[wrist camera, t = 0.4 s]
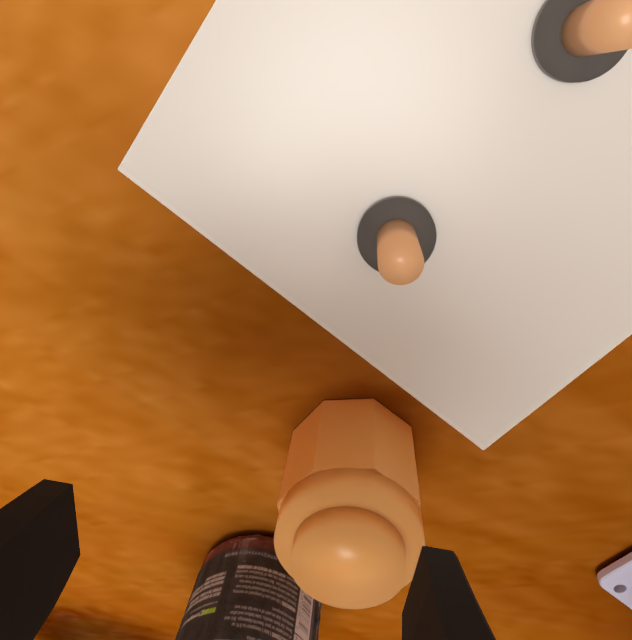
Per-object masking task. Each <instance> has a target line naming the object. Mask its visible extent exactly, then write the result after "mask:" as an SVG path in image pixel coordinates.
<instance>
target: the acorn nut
mask: <svg viewBox="0 0 632 640" xmlns="http://www.w3.org/2000/svg"><path fill="white" fill-rule="evenodd" d="M277 507H278V512H279V514H278V519H277V524H276V528H275V533H274V548H275V552H276V555H277V557H278V560H279V562H280V563H281V565H282V566H283V568H284V569H285V570H286V571H287V573H288V574H289V575H290V576H291V577H293V578H294V580H295V582H296V583H297V585H298V586H299V587H300V588H301V589H302V590H303V591H304V592H305V593H306V594H307V595H309V596H310V597H312V598H313V599H315V600H317V601H319V602H321V603H324V604H326V605H329V606H333V607H337V608H343V609H364V608H370V607H374V606H377V605H380V604H382V603H384V602H386V601H388V600H390V599H391V598H393V597H394V596H395V595H396V594H397V593H398V592H399V591H400V590H401V588H403V587H404V586H406V585H407V584H408V583H410V582H411V581H412V579H413V575H414V572H415V569H416V565H417V562H418V559H419V555H420V552H421V549H422V546H425V538H424V530H423V522H422V515H421V504H420V493H419V485H418V476H417V468H416V460H415V452H414V443H413V435H412V427H411V426H410V425H408V424H407V423H406V422H404V421H403V420H402V419H400V418H399V417H398V416H396V415H395V414H394V413H392V412H391V411H390V410H388V409H387V408H386V407H384V406H383V405H382V404H380V403H379V402H378V401H376V400H375V399H350V400H325V401H323V402H322V403H321V404H320V405H319V406H318V407H317V408H316V409H315V410H314V411H313V412H312V413H311V414H310V415H309V416H308V417H307V418H306V419H305V420H304V421H303V422H302V423H301V424H300V425H299V426H298V427H297V428H296V429H295V430H293V434H292V438H291V443H290V447H289V451H288V456H287V460H286V465H285V469H284V473H283V478H282V482H281V486H280V491H279V495H278V500H277Z"/></svg>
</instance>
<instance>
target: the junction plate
mask: <svg viewBox="0 0 632 640" xmlns="http://www.w3.org/2000/svg"><path fill="white" fill-rule="evenodd" d="M117 170H119V171H120V172H121V173H123V174H124V175H125V176H126V177H128V178H129V179H130V180H132V181H133V182H134V183H136V184H137V185H138V186H140V187H141V188H142V189H143V190H145V191H146V192H147V193H149V194H150V195H151V196H153V197H154V198H155V199H156V200H158V201H159V202H160V203H162V204H163V205H164V206H166V207H167V208H168V209H169V210H171V211H172V212H173V213H175V214H176V215H177V216H179V217H180V218H181V219H182V220H184V221H185V222H186V223H188V224H189V225H190V226H192V227H193V228H194V229H196V230H197V231H198V232H199V233H201V234H202V235H203V236H205V237H206V238H207V239H209V240H210V241H211V242H212V243H214V244H215V245H216V246H218V247H219V248H220V249H222V250H223V251H224V252H225V253H227V254H228V255H229V256H231V257H232V258H233V259H235V260H236V261H237V262H238V263H240V264H241V265H242V266H244V267H245V268H246V269H248V270H249V271H250V272H252V273H253V274H254V275H255V276H257V277H258V278H259V279H261V280H262V281H263V282H265V283H266V284H267V285H268V286H270V287H271V288H272V289H274V290H275V291H276V292H278V293H279V294H280V295H281V296H283V297H284V298H285V299H287V300H288V301H289V302H291V303H292V304H293V305H295V306H296V307H297V308H298V309H300V310H301V311H302V312H304V313H305V314H306V315H308V316H309V317H310V318H311V319H313V320H314V321H315V322H317V323H318V324H319V325H321V326H322V327H323V328H324V329H326V330H327V331H328V332H330V333H331V334H332V335H334V336H335V337H336V338H337V339H339V340H340V341H341V342H343V343H344V344H345V345H347V346H348V347H349V348H351V349H352V350H353V351H354V352H356V353H357V354H358V355H360V356H361V357H362V358H364V359H365V360H366V361H367V362H369V363H370V364H371V365H373V366H374V367H375V368H377V369H378V370H379V371H380V372H382V373H383V374H384V375H386V376H387V377H388V378H390V379H391V380H392V381H393V382H395V383H396V384H397V385H399V386H400V387H401V388H403V389H404V390H405V391H407V392H408V393H409V394H410V395H412V396H413V397H414V398H416V399H417V400H418V401H420V402H421V403H422V404H423V405H425V406H426V407H427V408H429V409H430V410H431V411H433V412H434V413H435V414H436V415H438V416H439V417H440V418H442V419H443V420H444V421H446V422H447V423H448V424H449V425H451V426H452V427H453V428H455V429H456V430H457V431H459V432H460V433H461V434H463V435H464V436H465V437H466V438H468V439H469V440H470V441H472V442H473V443H474V444H476V445H477V446H478V447H479V448H481V449H482V450H485V449H486V448H487V447H489V446H490V445H491V444H492V443H494V442H495V441H496V440H498V439H499V438H500V437H501V436H503V435H504V434H505V433H506V432H508V431H509V430H510V429H512V428H513V427H514V426H515V425H517V424H518V423H519V422H520V421H522V420H523V419H524V418H526V417H527V416H528V415H529V414H531V413H532V412H533V411H534V410H536V409H537V408H538V407H540V406H541V405H542V404H543V403H545V402H546V401H547V400H548V399H550V398H551V397H552V396H554V395H555V394H556V393H557V392H559V391H560V390H561V389H563V388H564V387H565V386H566V385H568V384H569V383H570V382H571V381H573V380H574V379H575V378H577V377H578V376H579V375H580V374H582V373H583V372H584V371H585V370H587V369H588V368H589V367H591V366H592V365H593V364H594V363H596V362H597V361H598V360H599V359H601V358H602V357H603V356H605V355H606V354H607V353H608V352H610V351H611V350H612V349H613V348H615V347H616V346H617V345H619V344H620V343H621V342H622V341H624V340H625V339H626V338H628V337H629V336H630V335H631V334H632V0H216V1H215V3H214V5H213V7H212V8H211V10H210V12H209V13H208V15H207V17H206V19H205V20H204V22H203V24H202V25H201V27H200V29H199V31H198V32H197V34H196V36H195V37H194V39H193V41H192V42H191V44H190V46H189V48H188V49H187V51H186V53H185V54H184V56H183V58H182V60H181V61H180V63H179V65H178V66H177V68H176V70H175V72H174V73H173V75H172V77H171V78H170V80H169V82H168V84H167V85H166V87H165V89H164V90H163V92H162V94H161V96H160V97H159V99H158V101H157V102H156V104H155V106H154V108H153V109H152V111H151V113H150V114H149V116H148V118H147V119H146V121H145V123H144V125H143V126H142V128H141V130H140V131H139V133H138V135H137V137H136V138H135V140H134V142H133V143H132V145H131V147H130V149H129V150H128V152H127V154H126V155H125V157H124V159H123V161H122V162H121V164H120V166H119V167H118V169H117Z"/></svg>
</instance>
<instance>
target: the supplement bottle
mask: <svg viewBox="0 0 632 640" xmlns="http://www.w3.org/2000/svg"><path fill="white" fill-rule="evenodd" d="M320 609H321V602H319V601H317V600H315V599H313V598H312V597H310V596H309V595H307V594H306V593H305V592H304V591H303V590H302V589H301V588H300V587H299V586H298V585H297V583H296V582H295V580H294V578H293V577H291V576H290V575H289V574H288V573H287V571H286V570H285V569H284V568H283V566H282V565H281V563H280V562H279V560H278V557H277V555H276V552H275V548H274V538H272V537H268V536H262V535H248V536H238V537H236V538H232V539H229V540H227V541H225V542H222V543H221V544H219V545H218V546H216V547H215V548H214V549H213V550H212V551H211V552H210V553H209V554H208V555H207V557H206V558H205V560H204V563H203V565H202V567H201V570H200V571H199V574H198V577H197V580H196V583H195V585H194V588H193V591H192V593H191V597H190V599H189V602H188V605H187V608H186V610H185V614H184V617H183V619H182V622H181V625H180V628H179V631H178V633H177V636H176V639H175V640H318V631H319V622H320Z"/></svg>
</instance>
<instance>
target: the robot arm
mask: <svg viewBox="0 0 632 640" xmlns="http://www.w3.org/2000/svg"><path fill="white" fill-rule="evenodd" d="M79 556H80V548H79V539H78V530H77V521H76V512H75V502H74V493H73V484H68V483H63V482H57V481H51V480H46V479H44V480H42V481H41V482H39V483H38V484H36V485H35V486H33V487H32V488H30V489H29V490H27V491H26V492H24V493H23V494H21V495H20V496H18V497H17V498H16V499H14V500H13V501H11V502H10V503H8V504H7V505H5V506H4V507H2V508H1V509H0V640H33V639H34V638H35V636H36V634H37V633H38V631H39V630H40V628H41V627H42V625H43V624H44V622H45V620H46V619H47V617H48V616H49V614H50V612H51V611H52V609H53V608H54V606H55V604H56V602H57V600H58V598H59V596H60V594H61V592H62V591H63V589H64V587H65V585H66V583H67V581H68V579H69V577H70V575H71V573H72V571H73V568H74V566H75V564H76V562H77V560H78V558H79ZM597 580H598V582H599V584H600V586H601V587H602V588H603V589H605V590H606V591H607V592H609V593H610V594H611V595H613V596H614V597H615V598H617V599H618V600H620V601H621V602H622V603H624V604H625V605H626V606H628V607H629V608H630V609H632V552H631V553H629V554H627V555H625V556H624V557H622V558H620V559H619V560H617V561H615V562H614V563H612V564H610V565H609V566H607V567H605V568H604V569H602V570H601V571H599V572H598V574H597ZM402 640H496V639H495V637H494V635H493V633H492V631H491V629H490V627H489V625H488V623H487V621H486V619H485V617H484V615H483V613H482V610H481V608H480V606H479V604H478V602H477V600H476V598H475V596H474V594H473V591H472V589H471V587H470V585H469V583H468V580H467V578H466V576H465V574H464V571H463V569H462V567H461V564H460V562H459V560H458V557H457V556H456V554H455V553H454V552H453V551H450V550H444V549H438V548H432V547H427V546H422V549H421V552H420V555H419V559H418V562H417V565H416V569H415V572H414V575H413V579H412V582H411V586H410V589H409V592H408V596H407V599H406V602H405V606H404V609H403V613H402Z"/></svg>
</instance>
